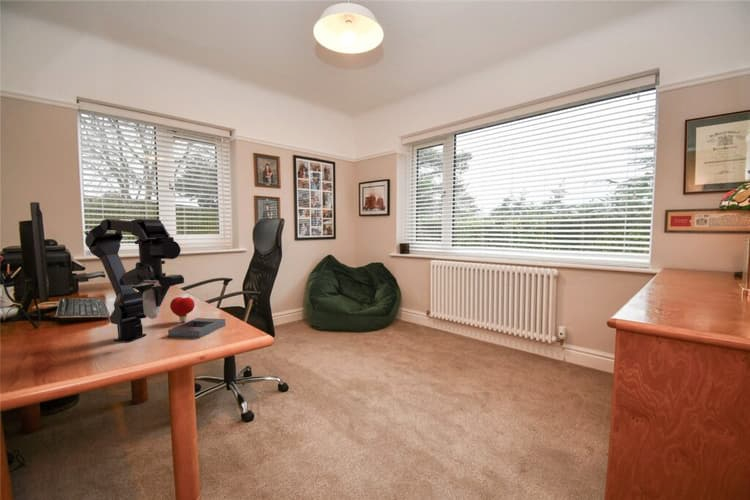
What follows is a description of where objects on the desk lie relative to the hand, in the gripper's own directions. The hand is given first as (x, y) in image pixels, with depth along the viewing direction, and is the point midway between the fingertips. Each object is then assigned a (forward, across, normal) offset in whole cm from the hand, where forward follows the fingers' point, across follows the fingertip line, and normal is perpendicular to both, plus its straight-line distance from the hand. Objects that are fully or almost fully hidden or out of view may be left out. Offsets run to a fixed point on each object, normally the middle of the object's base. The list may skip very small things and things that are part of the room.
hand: (153, 306), depth 101 cm
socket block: (+12, +5, +13) cm, 19 cm away
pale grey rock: (+4, 0, 0) cm, 4 cm away
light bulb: (+12, -9, +22) cm, 26 cm away
